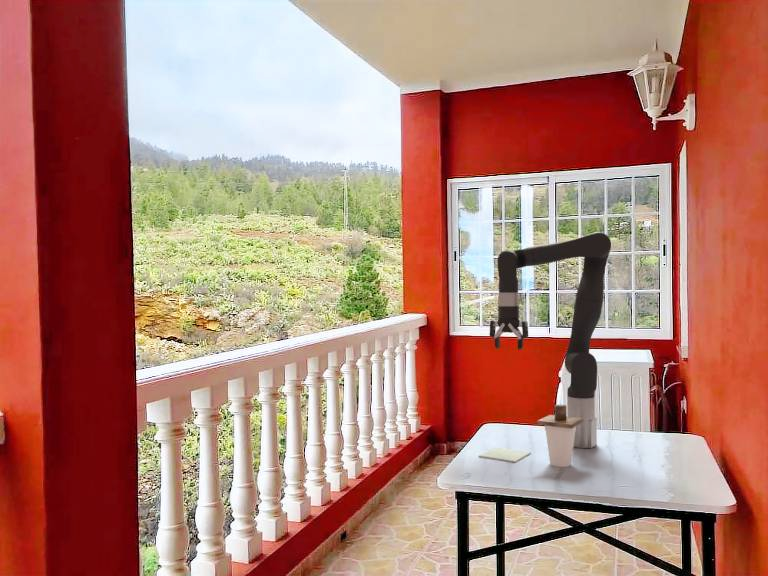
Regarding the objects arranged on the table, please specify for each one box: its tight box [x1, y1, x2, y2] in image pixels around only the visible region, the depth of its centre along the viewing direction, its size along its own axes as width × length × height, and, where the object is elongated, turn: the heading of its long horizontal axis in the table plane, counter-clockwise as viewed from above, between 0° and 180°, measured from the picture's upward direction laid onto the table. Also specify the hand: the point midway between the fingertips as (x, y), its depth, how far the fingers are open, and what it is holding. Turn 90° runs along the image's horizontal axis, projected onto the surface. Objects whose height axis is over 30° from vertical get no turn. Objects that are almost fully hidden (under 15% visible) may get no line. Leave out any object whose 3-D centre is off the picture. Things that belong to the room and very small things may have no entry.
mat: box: [478, 446, 531, 464], centre depth 221 cm, size 13×13×1 cm
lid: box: [536, 404, 583, 429], centre depth 210 cm, size 11×11×6 cm
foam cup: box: [544, 425, 576, 468], centre depth 210 cm, size 10×9×13 cm
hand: (508, 349), depth 243 cm, fingers open, 8 cm apart
